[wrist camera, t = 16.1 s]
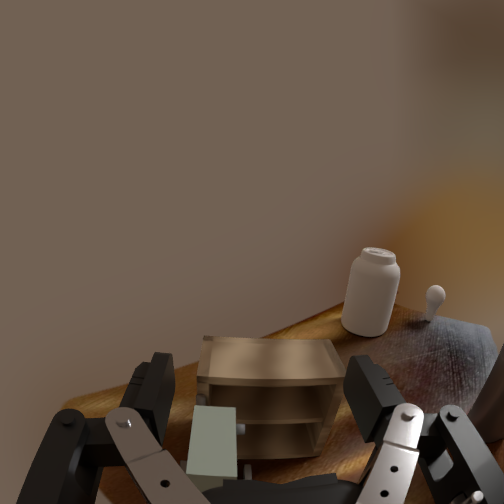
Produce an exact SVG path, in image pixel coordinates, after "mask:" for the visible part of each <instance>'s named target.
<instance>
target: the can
mask: <svg viewBox="0 0 504 504" xmlns="http://www.w3.org/2000/svg"><path fill="white" fill-rule="evenodd" d="M395 261H396V257H395V254H394V253H392V252H390V251H387V250H384V249H380V248H364V249H363V250H362V253H361V256H359V257H358V258H356V259H355V260H354V262H353V264H352V266H351V271H350V277H349V282H348V288H347V293H346V298H345V303H344V308H343V313H342V317H341V323H342V325H343V327H344V328H345V329H346V330H348V331H350V332H351V333H354V334H357V335H360V336H365V337H375V336H380V335H382V334H383V333H384V332H385V331H386V329H387V327H388V323H389V320H390V316H391V312H392V308H393V305H394V301H395V297H396V292H397V288H398V284H399V279H400V269H399V267H398V265H397V264H396V262H395Z"/></svg>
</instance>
